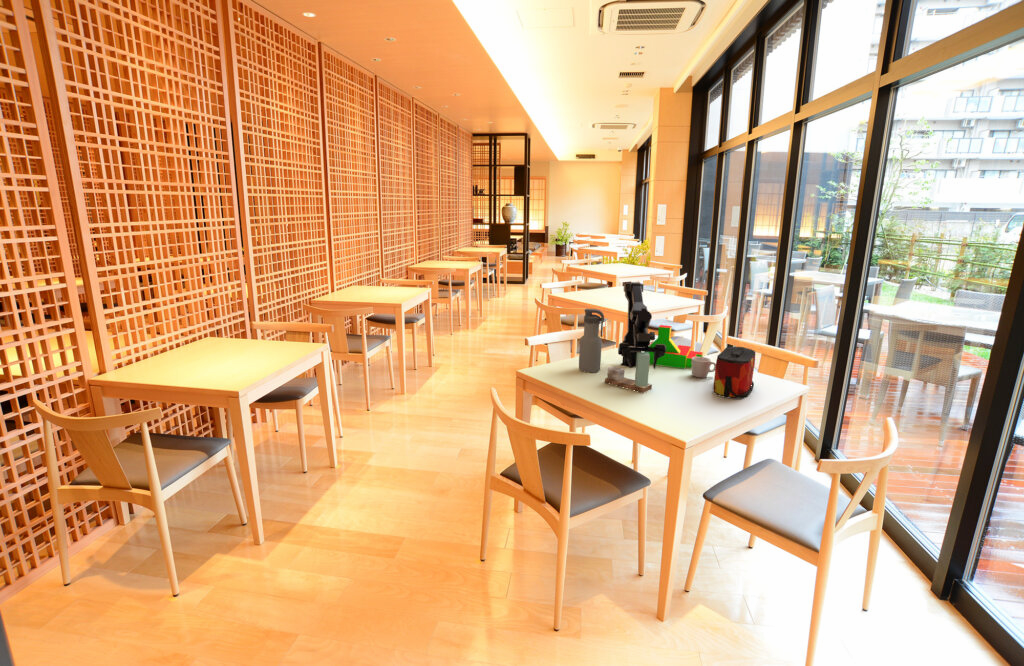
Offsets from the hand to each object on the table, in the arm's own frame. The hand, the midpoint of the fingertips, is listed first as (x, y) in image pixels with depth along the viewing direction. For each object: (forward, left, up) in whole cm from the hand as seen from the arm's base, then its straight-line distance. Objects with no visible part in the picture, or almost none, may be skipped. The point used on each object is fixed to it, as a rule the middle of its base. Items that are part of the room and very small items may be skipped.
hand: (642, 367), depth 212 cm
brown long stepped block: (-7, +1, -10) cm, 12 cm away
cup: (+10, +36, -10) cm, 39 cm away
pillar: (-1, +1, -7) cm, 8 cm away
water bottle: (-31, +8, -10) cm, 33 cm away
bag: (+27, +30, -10) cm, 41 cm away
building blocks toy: (-9, +49, -10) cm, 51 cm away
